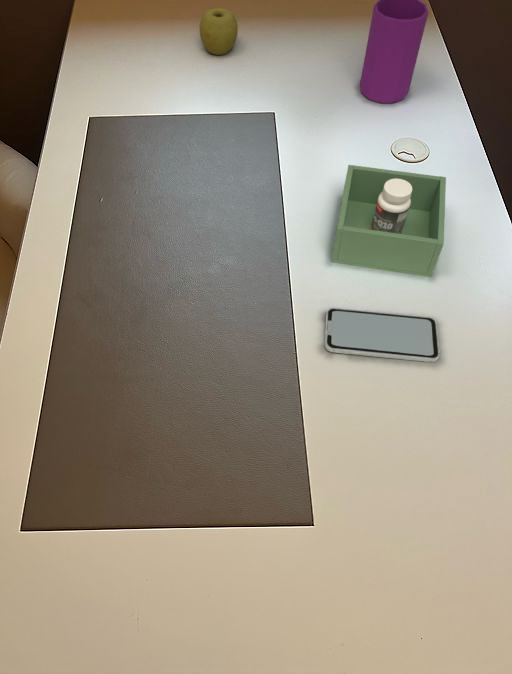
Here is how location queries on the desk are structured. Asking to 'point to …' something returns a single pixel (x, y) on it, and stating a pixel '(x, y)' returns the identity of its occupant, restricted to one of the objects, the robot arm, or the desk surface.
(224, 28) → the apple
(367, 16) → the desk surface
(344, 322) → the smartphone
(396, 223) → the pill bottle
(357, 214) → the open storage box
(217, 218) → the desk surface
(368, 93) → the mug
